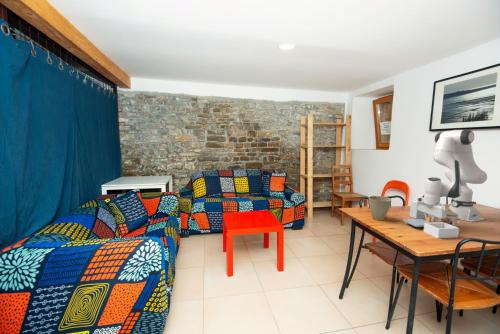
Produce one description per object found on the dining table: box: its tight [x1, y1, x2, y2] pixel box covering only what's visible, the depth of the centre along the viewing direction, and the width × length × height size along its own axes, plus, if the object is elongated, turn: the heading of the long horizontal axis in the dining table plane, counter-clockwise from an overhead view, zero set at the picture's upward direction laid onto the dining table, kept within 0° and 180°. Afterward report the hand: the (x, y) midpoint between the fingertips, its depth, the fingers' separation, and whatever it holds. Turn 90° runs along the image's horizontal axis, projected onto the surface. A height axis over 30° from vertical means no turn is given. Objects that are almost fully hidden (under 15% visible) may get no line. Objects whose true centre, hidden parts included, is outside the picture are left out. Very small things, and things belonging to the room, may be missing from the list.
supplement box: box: [409, 200, 426, 220], centre depth 176 cm, size 7×7×13 cm
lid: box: [402, 216, 433, 228], centre depth 157 cm, size 17×11×5 cm, turn 97°
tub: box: [423, 221, 460, 239], centre depth 144 cm, size 14×10×6 cm
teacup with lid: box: [440, 208, 463, 227], centre depth 158 cm, size 12×9×12 cm
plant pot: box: [368, 195, 392, 221], centre depth 171 cm, size 15×15×16 cm
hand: (429, 220), depth 158 cm, fingers closed on lid, 2 cm apart
